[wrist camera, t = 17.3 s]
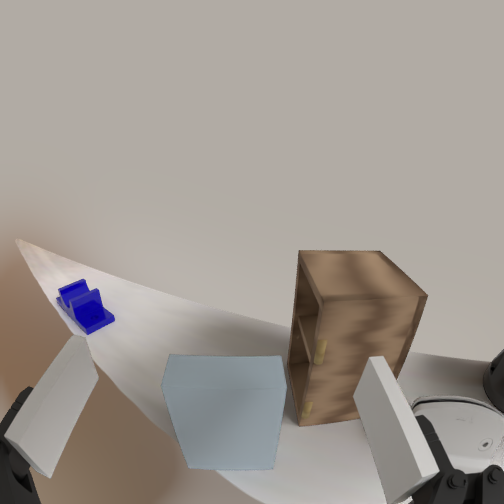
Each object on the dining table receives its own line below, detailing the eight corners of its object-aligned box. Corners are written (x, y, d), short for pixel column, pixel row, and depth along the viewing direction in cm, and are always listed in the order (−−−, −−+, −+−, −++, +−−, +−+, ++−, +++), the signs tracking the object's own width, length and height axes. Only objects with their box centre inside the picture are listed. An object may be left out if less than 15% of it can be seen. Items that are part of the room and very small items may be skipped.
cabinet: (354, 358, 46) (380, 250, 38) (380, 416, 33) (430, 297, 26) (287, 364, 45) (298, 250, 38) (299, 429, 32) (325, 304, 25)
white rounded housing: (381, 462, 26) (414, 399, 25) (385, 442, 30) (414, 383, 29) (483, 478, 18) (522, 418, 17) (479, 460, 22) (513, 403, 21)
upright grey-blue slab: (270, 438, 31) (280, 349, 25) (272, 469, 27) (286, 387, 21) (191, 438, 31) (171, 348, 25) (188, 468, 26) (161, 385, 21)
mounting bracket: (58, 304, 58) (51, 282, 56) (81, 294, 64) (76, 272, 61) (87, 336, 49) (80, 311, 47) (115, 322, 54) (109, 297, 52)
